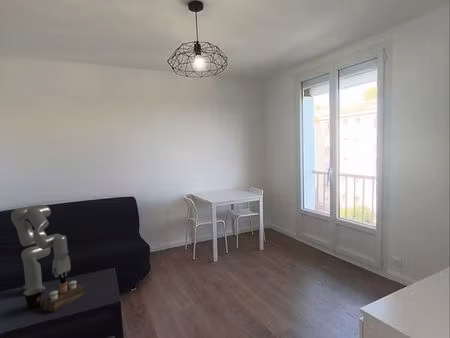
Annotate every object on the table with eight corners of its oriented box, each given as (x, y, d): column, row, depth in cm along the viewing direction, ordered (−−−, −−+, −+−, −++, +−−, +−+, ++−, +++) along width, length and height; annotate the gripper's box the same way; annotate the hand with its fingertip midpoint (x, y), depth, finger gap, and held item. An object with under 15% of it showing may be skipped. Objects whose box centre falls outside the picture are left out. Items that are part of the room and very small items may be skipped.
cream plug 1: (48, 306, 173) (47, 293, 173) (55, 302, 178) (54, 289, 177) (54, 307, 172) (53, 294, 171) (60, 303, 176) (59, 290, 176)
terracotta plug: (57, 296, 180) (57, 284, 179) (64, 292, 184) (63, 280, 184) (63, 297, 178) (62, 285, 178) (69, 293, 183) (69, 281, 182)
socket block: (43, 309, 173) (42, 300, 172) (72, 292, 193) (72, 283, 193) (55, 312, 169) (54, 302, 169) (84, 294, 190) (83, 285, 190)
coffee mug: (29, 312, 170) (28, 296, 169) (23, 308, 174) (21, 293, 174) (49, 303, 180) (48, 288, 179) (43, 300, 184) (42, 285, 184)
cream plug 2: (67, 294, 186) (66, 283, 186) (73, 291, 191) (72, 280, 190) (73, 295, 185) (72, 284, 184) (79, 292, 189) (78, 280, 189)
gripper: (66, 250, 188) (68, 277, 189) (46, 259, 174) (48, 287, 175) (75, 251, 185) (77, 278, 186) (54, 260, 171) (57, 289, 172)
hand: (63, 282), depth 180 cm, fingers closed
